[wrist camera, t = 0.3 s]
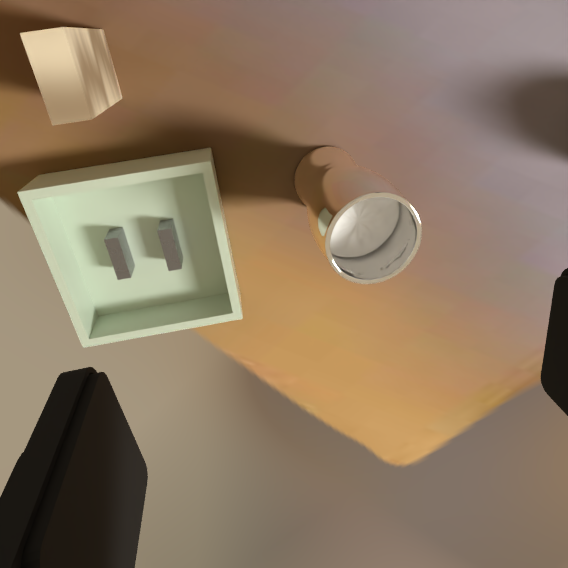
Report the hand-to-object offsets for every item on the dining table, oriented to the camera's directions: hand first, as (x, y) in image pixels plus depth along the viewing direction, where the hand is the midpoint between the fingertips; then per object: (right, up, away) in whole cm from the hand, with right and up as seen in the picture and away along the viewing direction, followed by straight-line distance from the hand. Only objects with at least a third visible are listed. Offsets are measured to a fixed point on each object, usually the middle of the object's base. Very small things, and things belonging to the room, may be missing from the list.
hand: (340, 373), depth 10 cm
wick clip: (-14, +6, +34) cm, 38 cm away
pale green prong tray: (-14, +6, +34) cm, 38 cm away
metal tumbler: (+3, +12, +34) cm, 36 cm away
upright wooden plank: (-16, +19, +27) cm, 37 cm away
